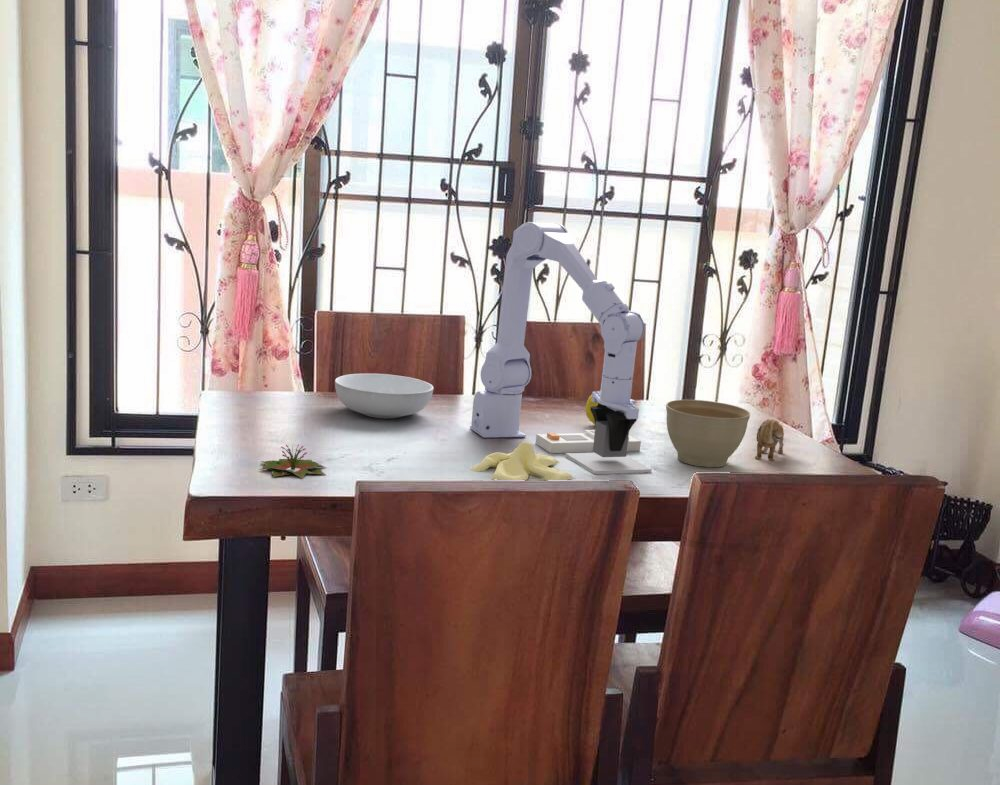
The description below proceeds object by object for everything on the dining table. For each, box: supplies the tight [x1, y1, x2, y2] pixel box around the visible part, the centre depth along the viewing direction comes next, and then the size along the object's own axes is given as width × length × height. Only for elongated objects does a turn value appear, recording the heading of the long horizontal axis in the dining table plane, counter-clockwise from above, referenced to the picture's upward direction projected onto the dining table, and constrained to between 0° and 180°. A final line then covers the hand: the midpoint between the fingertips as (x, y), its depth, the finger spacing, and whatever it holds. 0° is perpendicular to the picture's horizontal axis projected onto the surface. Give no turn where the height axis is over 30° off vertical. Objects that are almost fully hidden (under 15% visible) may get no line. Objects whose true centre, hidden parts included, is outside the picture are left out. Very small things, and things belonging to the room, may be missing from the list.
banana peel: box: [468, 440, 574, 481], centre depth 181 cm, size 22×19×6 cm
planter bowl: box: [665, 399, 751, 468], centre depth 198 cm, size 16×16×11 cm
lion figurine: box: [754, 418, 785, 462], centre depth 207 cm, size 15×5×9 cm, turn 161°
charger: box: [592, 421, 630, 457], centre depth 190 cm, size 5×4×6 cm
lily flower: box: [258, 443, 327, 480], centre depth 170 cm, size 12×12×5 cm
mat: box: [565, 452, 653, 475], centre depth 191 cm, size 12×12×1 cm
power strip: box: [535, 429, 642, 454], centre depth 202 cm, size 20×7×3 cm, turn 113°
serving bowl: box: [334, 373, 435, 419], centre depth 215 cm, size 21×21×7 cm
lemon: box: [585, 390, 601, 427], centre depth 221 cm, size 6×6×8 cm
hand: (609, 447), depth 190 cm, fingers closed on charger, 4 cm apart
